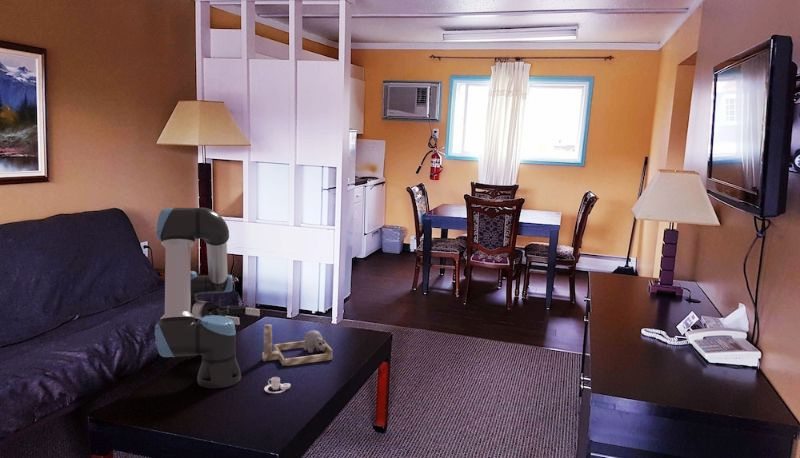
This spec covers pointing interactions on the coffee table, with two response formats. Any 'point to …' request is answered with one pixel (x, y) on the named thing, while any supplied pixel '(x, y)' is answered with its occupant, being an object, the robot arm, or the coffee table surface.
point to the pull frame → (276, 354)
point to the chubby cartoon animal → (314, 341)
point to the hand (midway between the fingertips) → (249, 316)
